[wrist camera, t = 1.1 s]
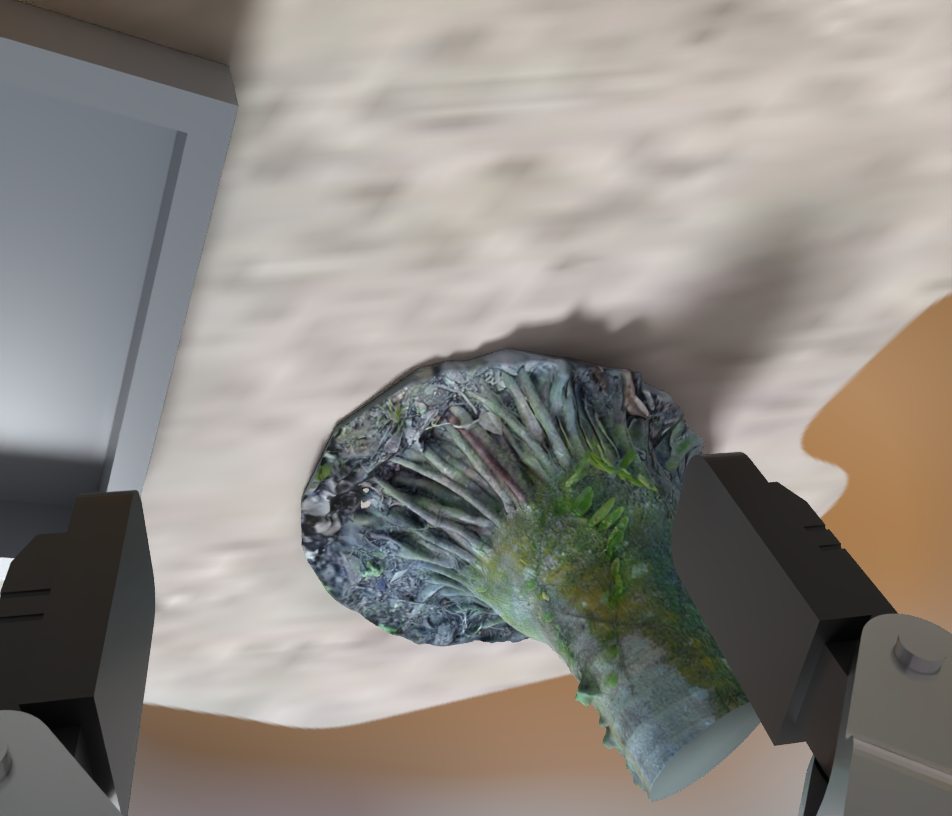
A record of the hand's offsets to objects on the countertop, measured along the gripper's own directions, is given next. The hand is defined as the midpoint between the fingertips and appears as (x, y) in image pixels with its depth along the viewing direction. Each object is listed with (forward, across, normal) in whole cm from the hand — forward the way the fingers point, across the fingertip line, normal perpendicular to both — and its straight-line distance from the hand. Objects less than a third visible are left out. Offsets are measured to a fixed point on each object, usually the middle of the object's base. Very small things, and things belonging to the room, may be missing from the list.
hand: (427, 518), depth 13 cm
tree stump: (+25, -9, +19) cm, 32 cm away
